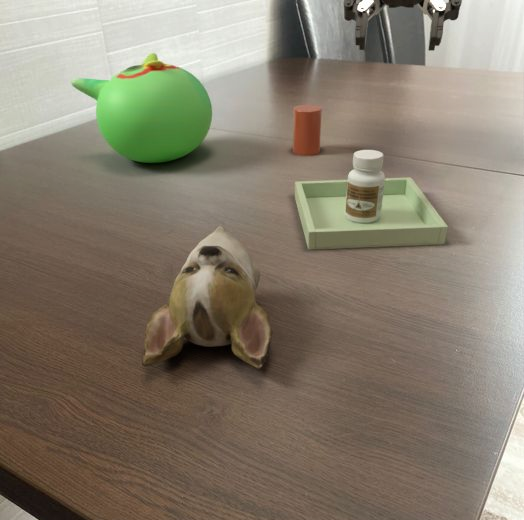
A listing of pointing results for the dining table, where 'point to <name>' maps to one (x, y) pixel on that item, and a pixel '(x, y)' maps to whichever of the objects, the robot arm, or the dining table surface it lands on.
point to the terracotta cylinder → (306, 129)
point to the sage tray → (367, 234)
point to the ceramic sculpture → (212, 305)
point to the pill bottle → (365, 187)
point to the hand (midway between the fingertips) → (396, 46)
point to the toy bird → (151, 111)
